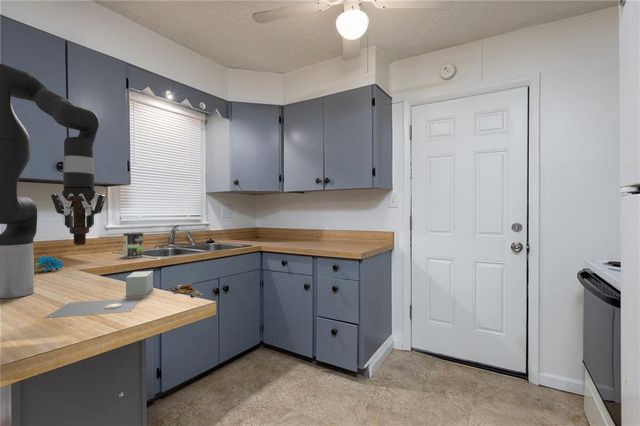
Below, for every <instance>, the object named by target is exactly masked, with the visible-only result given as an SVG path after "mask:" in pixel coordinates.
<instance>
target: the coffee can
mask: <svg viewBox="0 0 640 426" xmlns="http://www.w3.org/2000/svg"><path fill="white" fill-rule="evenodd" d="M122 236H123V258H124V259H129V258H130V259H131V258H133V259H135V258H141V257H143V256H144V232H125V233H123V234H122Z"/></svg>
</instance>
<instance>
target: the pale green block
mask: <svg viewBox="0 0 640 426" xmlns="http://www.w3.org/2000/svg"><path fill="white" fill-rule="evenodd" d="M153 289H154V271H153V270H150V271H149V270H148V271H147V270H146V271H133V272H132V273H130V274H129V275H128V276H126V277H125V296H126V297H130V296H131V297H133V296H146V295H148V294H149V293H150V292H151V290H153Z"/></svg>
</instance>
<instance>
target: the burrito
mask: <svg viewBox="0 0 640 426" xmlns="http://www.w3.org/2000/svg"><path fill="white" fill-rule="evenodd" d="M192 286H193V284H192V283H187V284H178V285H177V286H175V287H170V290H171V292H173V293H174V294H179V295H186V294H190V296H189V298H190V297H193V298H200V297H201V296H203V294H202V293H201V292H199V290H197V289H196V288H194V287H192ZM173 293H172V294H173Z"/></svg>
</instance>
